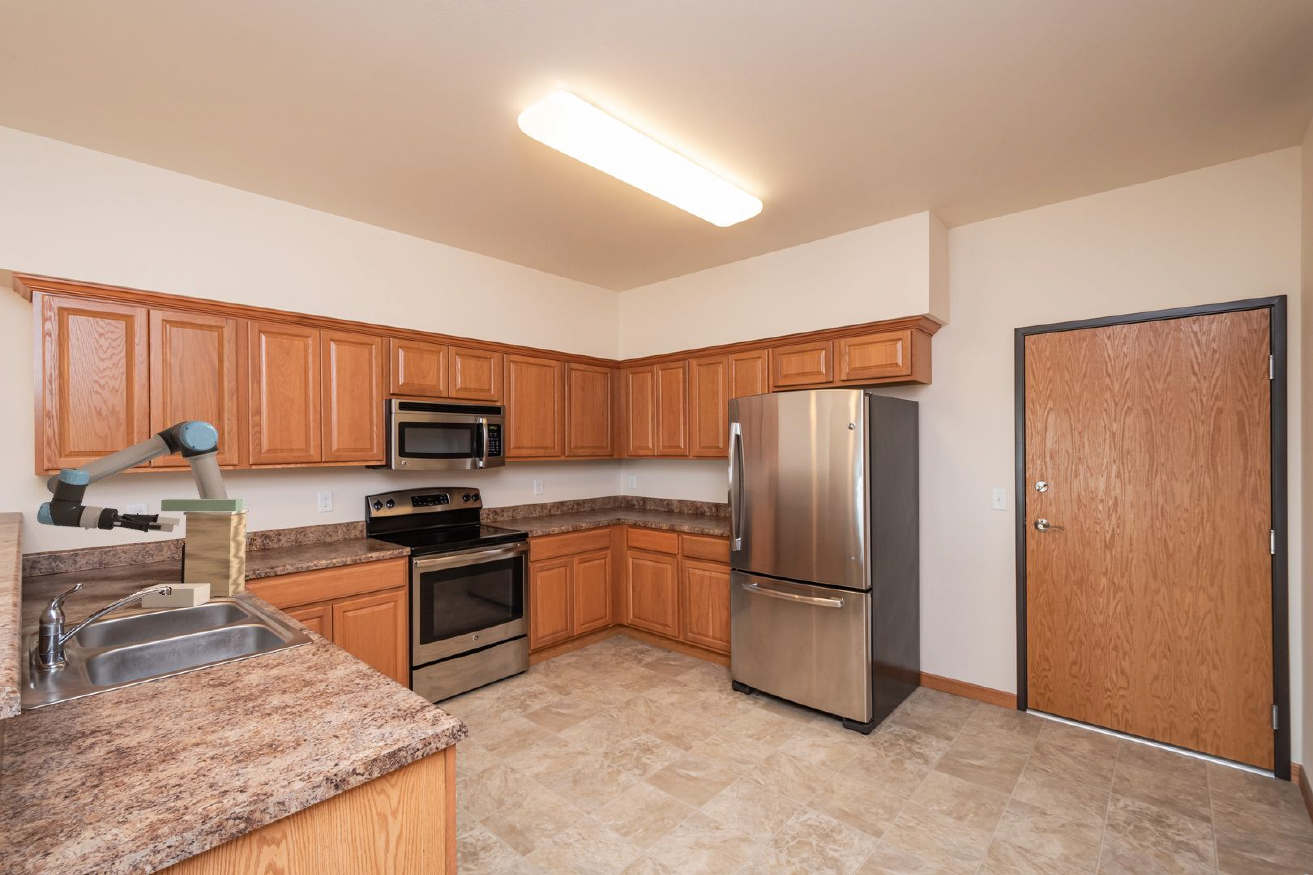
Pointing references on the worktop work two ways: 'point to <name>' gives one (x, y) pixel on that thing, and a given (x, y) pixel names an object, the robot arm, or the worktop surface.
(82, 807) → the worktop surface
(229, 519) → the tall wooden pillar block
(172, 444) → the robot arm
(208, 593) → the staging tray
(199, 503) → the pale green rectangular block
